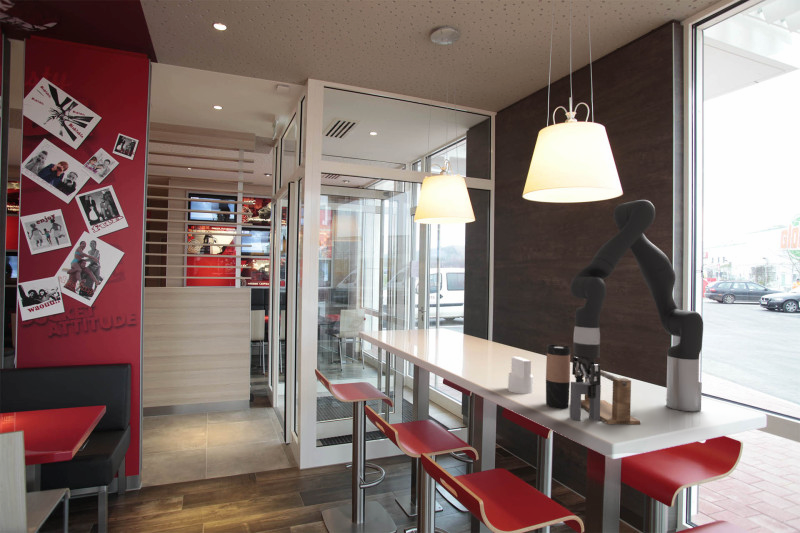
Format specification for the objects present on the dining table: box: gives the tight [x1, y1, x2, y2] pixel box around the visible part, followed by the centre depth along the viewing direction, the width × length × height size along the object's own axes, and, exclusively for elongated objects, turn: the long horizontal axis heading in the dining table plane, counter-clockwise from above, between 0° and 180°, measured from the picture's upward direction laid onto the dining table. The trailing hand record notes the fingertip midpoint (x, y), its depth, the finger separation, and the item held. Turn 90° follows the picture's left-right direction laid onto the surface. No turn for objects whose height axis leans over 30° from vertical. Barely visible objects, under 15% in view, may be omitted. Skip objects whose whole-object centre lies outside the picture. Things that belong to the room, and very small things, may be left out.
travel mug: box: [545, 344, 571, 410], centre depth 154 cm, size 8×8×20 cm
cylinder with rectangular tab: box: [507, 356, 534, 395], centre depth 172 cm, size 9×9×12 cm
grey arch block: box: [569, 381, 602, 422], centre depth 140 cm, size 8×3×11 cm, turn 92°
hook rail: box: [581, 366, 641, 425], centre depth 147 cm, size 10×22×13 cm, turn 2°
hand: (585, 394), depth 140 cm, fingers open, 8 cm apart
